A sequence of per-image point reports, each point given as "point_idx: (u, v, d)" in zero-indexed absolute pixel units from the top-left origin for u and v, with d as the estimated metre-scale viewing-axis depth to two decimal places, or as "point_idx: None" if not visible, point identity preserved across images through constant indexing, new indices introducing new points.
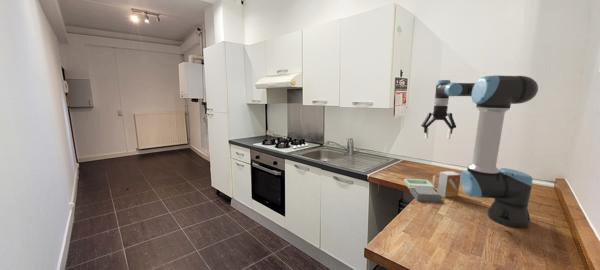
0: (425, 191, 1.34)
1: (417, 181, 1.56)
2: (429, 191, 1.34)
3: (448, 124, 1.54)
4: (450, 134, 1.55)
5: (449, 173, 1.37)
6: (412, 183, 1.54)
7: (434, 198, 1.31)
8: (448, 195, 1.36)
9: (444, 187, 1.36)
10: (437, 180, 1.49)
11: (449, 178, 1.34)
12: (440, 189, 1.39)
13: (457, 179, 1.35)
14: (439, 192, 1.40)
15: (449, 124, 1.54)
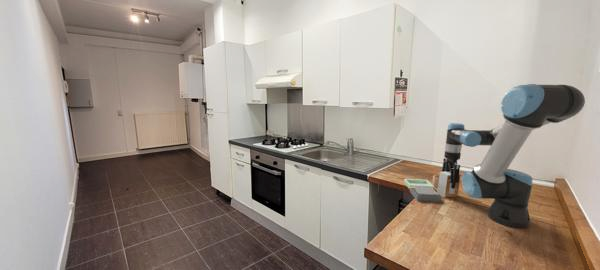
0: (425, 191, 1.34)
1: (417, 181, 1.56)
2: (429, 191, 1.34)
3: None
4: (449, 188, 1.35)
5: (449, 173, 1.37)
6: (412, 183, 1.54)
7: (434, 198, 1.31)
8: (448, 195, 1.36)
9: (444, 187, 1.36)
10: (437, 180, 1.49)
11: (449, 178, 1.34)
12: (440, 189, 1.39)
13: None
14: (439, 192, 1.40)
15: (451, 176, 1.34)
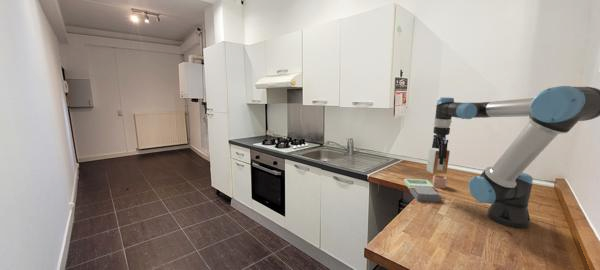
0: (425, 191, 1.34)
1: (417, 181, 1.56)
2: (429, 191, 1.34)
3: (439, 151, 1.31)
4: (437, 164, 1.31)
5: (438, 149, 1.33)
6: (412, 183, 1.54)
7: (434, 198, 1.31)
8: (436, 171, 1.33)
9: (432, 163, 1.33)
10: (437, 180, 1.49)
11: (437, 154, 1.31)
12: (429, 166, 1.36)
13: None
14: (428, 169, 1.37)
15: (439, 152, 1.30)
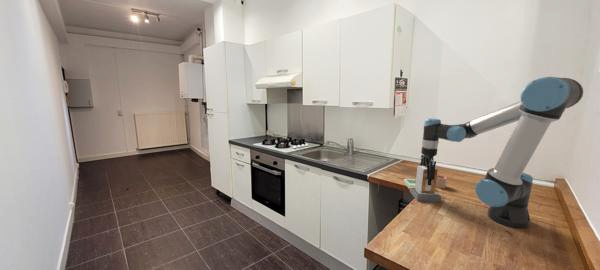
0: None
1: None
2: None
3: (427, 172, 1.31)
4: (426, 185, 1.32)
5: (426, 167, 1.34)
6: (412, 183, 1.54)
7: (434, 198, 1.31)
8: (424, 189, 1.33)
9: (421, 181, 1.33)
10: (437, 180, 1.49)
11: (425, 173, 1.31)
12: (417, 183, 1.37)
13: None
14: (416, 187, 1.37)
15: (427, 172, 1.31)
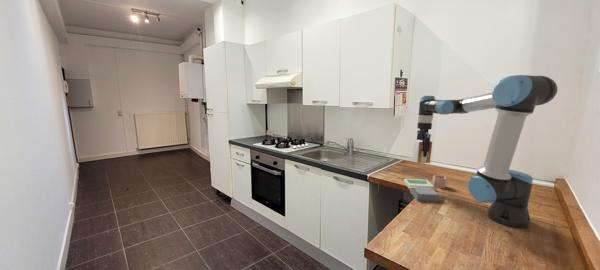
0: (425, 191, 1.34)
1: (417, 181, 1.56)
2: (429, 191, 1.34)
3: None
4: (421, 156, 1.44)
5: None
6: (412, 183, 1.54)
7: (434, 198, 1.31)
8: (420, 161, 1.45)
9: (417, 153, 1.45)
10: (437, 180, 1.49)
11: (421, 145, 1.43)
12: (414, 156, 1.49)
13: None
14: (413, 159, 1.49)
15: None
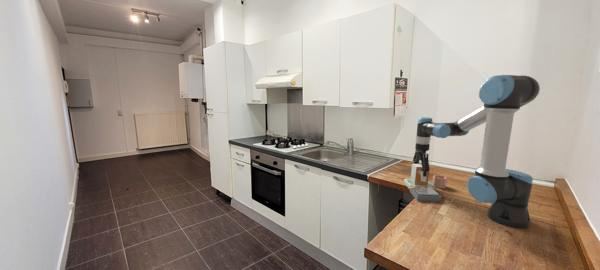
0: (425, 191, 1.34)
1: None
2: (429, 191, 1.34)
3: None
4: (421, 176, 1.43)
5: (419, 165, 1.48)
6: None
7: (434, 198, 1.31)
8: None
9: (414, 178, 1.48)
10: (437, 180, 1.49)
11: (418, 170, 1.46)
12: (411, 180, 1.51)
13: None
14: (411, 183, 1.52)
15: (422, 165, 1.43)
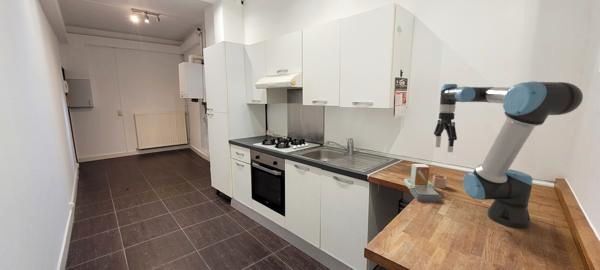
0: (425, 191, 1.34)
1: None
2: (429, 191, 1.34)
3: (447, 134, 1.34)
4: (448, 146, 1.33)
5: (419, 165, 1.48)
6: None
7: (434, 198, 1.31)
8: None
9: (414, 178, 1.48)
10: (437, 180, 1.49)
11: (418, 170, 1.46)
12: (411, 180, 1.51)
13: (426, 171, 1.46)
14: (411, 183, 1.52)
15: (448, 134, 1.33)
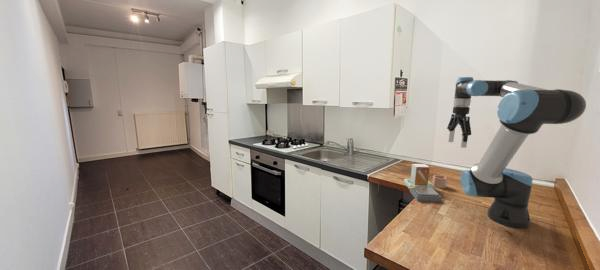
0: (425, 191, 1.34)
1: None
2: (429, 191, 1.34)
3: (461, 129, 1.30)
4: (461, 142, 1.30)
5: (419, 165, 1.48)
6: None
7: (434, 198, 1.31)
8: None
9: (414, 178, 1.48)
10: (437, 180, 1.49)
11: (418, 170, 1.46)
12: (411, 180, 1.51)
13: (426, 171, 1.46)
14: (411, 183, 1.52)
15: (462, 129, 1.30)
